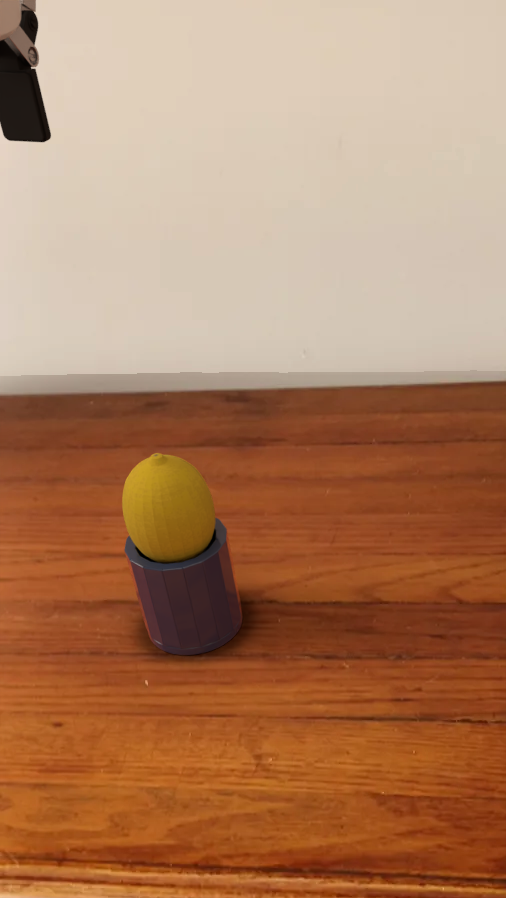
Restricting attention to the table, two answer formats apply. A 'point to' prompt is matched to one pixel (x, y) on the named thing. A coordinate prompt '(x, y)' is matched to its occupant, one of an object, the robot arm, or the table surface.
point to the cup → (188, 597)
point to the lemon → (168, 509)
